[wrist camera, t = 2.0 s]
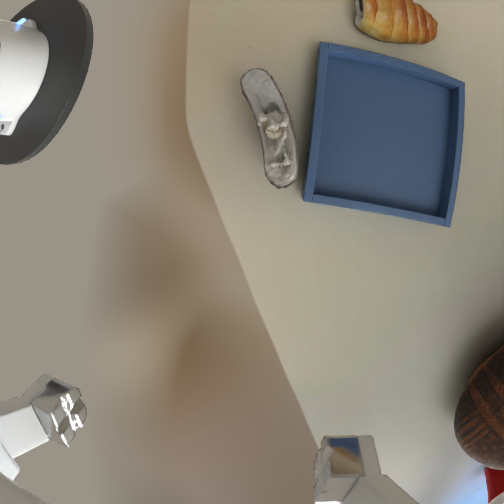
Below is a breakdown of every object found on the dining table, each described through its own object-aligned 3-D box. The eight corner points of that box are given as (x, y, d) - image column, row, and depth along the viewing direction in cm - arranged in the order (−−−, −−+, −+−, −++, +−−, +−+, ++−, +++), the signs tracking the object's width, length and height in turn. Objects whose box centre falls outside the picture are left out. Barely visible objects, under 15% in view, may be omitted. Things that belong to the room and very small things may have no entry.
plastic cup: (484, 460, 40) (499, 496, 29) (516, 445, 38) (533, 477, 27) (469, 482, 43) (480, 515, 31) (500, 468, 41) (513, 498, 30)
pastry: (428, 10, 21) (441, -2, 18) (434, 58, 23) (449, 49, 20) (351, -9, 22) (358, -25, 19) (354, 39, 24) (362, 25, 21)
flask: (249, 96, 27) (231, 64, 17) (278, 89, 27) (274, 52, 17) (274, 184, 30) (269, 196, 19) (303, 177, 29) (313, 185, 19)
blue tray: (301, 198, 30) (303, 201, 27) (317, 50, 25) (320, 41, 23) (439, 222, 29) (450, 227, 26) (453, 86, 24) (464, 82, 21)
